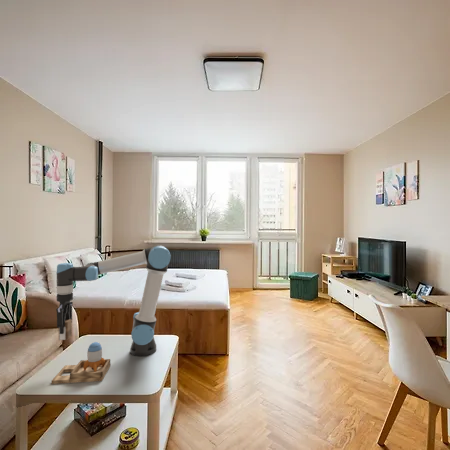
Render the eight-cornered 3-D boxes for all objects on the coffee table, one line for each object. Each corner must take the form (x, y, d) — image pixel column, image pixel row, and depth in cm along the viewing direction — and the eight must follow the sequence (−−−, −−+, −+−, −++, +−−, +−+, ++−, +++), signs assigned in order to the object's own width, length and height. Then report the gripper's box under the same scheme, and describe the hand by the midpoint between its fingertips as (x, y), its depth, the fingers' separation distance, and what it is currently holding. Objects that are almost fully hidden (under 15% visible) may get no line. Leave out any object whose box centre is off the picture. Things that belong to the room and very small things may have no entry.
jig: (110, 366, 156) (110, 358, 156) (102, 380, 141) (102, 372, 141) (65, 368, 153) (65, 360, 153) (51, 383, 138) (51, 375, 138)
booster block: (71, 336, 155) (71, 319, 155) (67, 339, 150) (67, 322, 150) (62, 336, 154) (62, 319, 154) (58, 339, 150) (58, 322, 150)
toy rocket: (99, 377, 143) (92, 349, 141) (79, 379, 144) (72, 352, 142) (109, 364, 153) (103, 338, 151) (91, 366, 154) (84, 340, 152)
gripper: (65, 289, 161) (65, 331, 161) (48, 297, 143) (48, 344, 143) (79, 289, 161) (79, 331, 161) (64, 297, 144) (64, 344, 144)
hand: (64, 337), depth 152 cm, fingers closed on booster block, 4 cm apart
